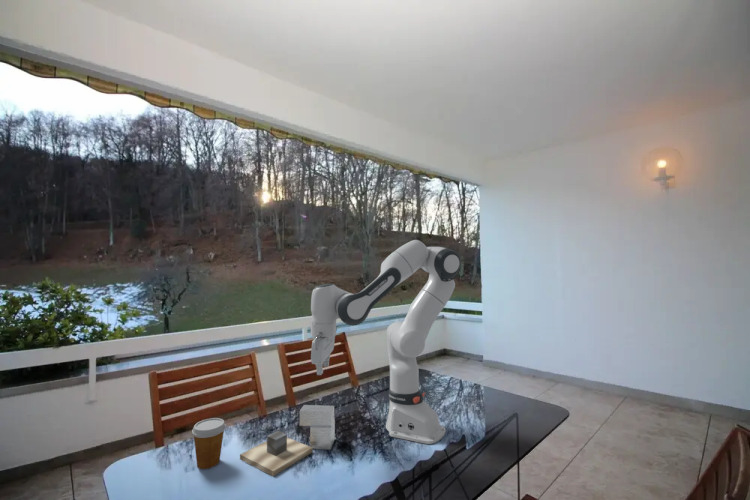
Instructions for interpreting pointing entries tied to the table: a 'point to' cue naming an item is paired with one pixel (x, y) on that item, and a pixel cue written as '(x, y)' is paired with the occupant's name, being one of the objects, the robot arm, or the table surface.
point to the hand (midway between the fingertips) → (323, 370)
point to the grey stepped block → (319, 425)
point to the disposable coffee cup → (208, 442)
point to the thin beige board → (276, 453)
